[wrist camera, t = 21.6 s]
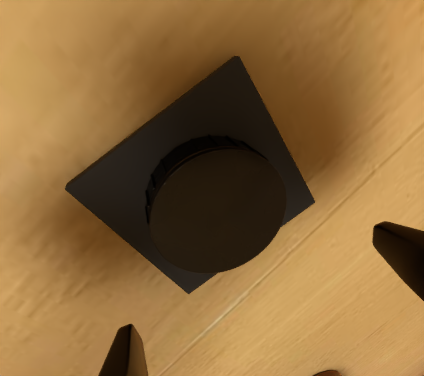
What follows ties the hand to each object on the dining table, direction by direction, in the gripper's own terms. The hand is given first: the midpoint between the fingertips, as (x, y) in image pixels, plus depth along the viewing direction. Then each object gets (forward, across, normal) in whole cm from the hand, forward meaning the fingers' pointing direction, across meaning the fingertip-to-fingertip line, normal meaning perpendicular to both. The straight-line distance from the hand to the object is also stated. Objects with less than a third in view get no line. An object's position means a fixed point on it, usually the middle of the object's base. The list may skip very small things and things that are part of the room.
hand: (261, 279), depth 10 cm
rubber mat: (+7, 0, 0) cm, 7 cm away
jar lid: (+5, 0, 0) cm, 5 cm away
